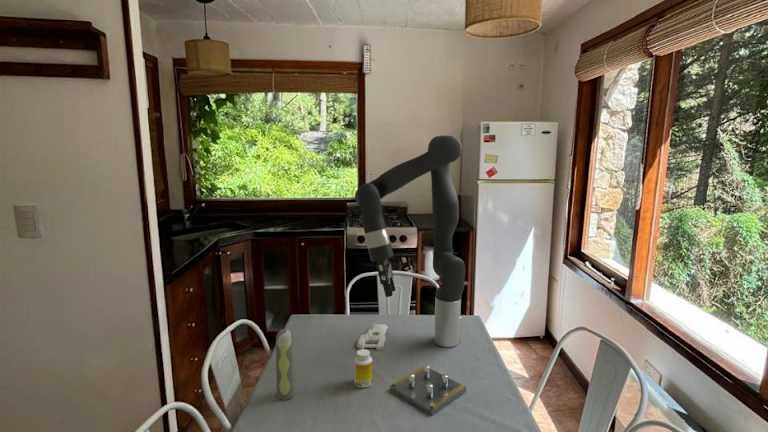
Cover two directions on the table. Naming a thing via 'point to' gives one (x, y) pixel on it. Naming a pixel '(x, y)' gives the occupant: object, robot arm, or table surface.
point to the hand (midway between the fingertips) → (391, 293)
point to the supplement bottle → (363, 369)
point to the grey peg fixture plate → (428, 389)
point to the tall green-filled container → (284, 365)
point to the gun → (373, 337)
